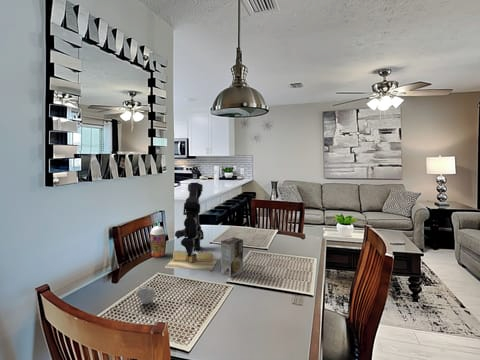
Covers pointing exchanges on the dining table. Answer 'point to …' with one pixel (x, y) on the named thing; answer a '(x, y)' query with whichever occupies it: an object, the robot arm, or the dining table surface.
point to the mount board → (192, 265)
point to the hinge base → (184, 256)
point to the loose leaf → (205, 256)
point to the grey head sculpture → (145, 294)
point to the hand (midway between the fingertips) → (191, 253)
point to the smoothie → (157, 241)
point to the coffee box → (231, 257)
